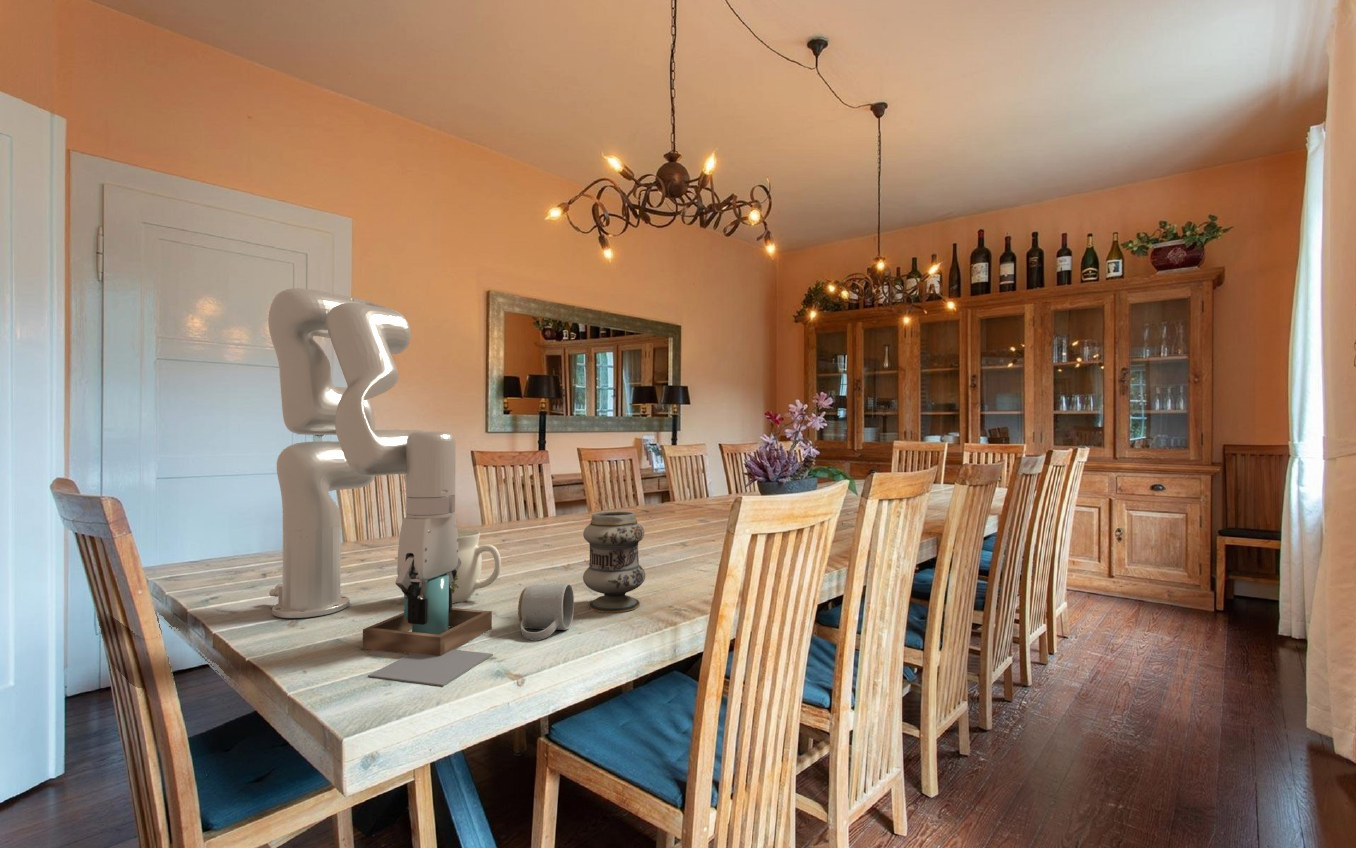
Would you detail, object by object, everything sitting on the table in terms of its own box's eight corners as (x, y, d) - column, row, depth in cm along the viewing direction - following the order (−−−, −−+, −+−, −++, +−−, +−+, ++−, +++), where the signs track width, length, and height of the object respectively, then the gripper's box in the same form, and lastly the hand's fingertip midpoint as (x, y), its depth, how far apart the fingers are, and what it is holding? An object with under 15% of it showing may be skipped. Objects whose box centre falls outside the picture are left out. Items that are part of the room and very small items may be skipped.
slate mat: (368, 676, 87) (368, 675, 87) (424, 647, 99) (424, 646, 99) (443, 686, 84) (443, 684, 84) (492, 655, 96) (492, 653, 96)
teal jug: (455, 634, 105) (455, 574, 105) (434, 645, 100) (434, 582, 100) (417, 630, 107) (417, 571, 107) (394, 641, 102) (394, 579, 102)
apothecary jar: (611, 594, 131) (611, 507, 131) (657, 603, 124) (658, 511, 124) (569, 607, 121) (569, 513, 121) (617, 618, 114) (617, 519, 114)
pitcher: (488, 608, 120) (488, 536, 120) (400, 604, 123) (401, 533, 123) (511, 593, 131) (511, 527, 131) (430, 590, 134) (430, 525, 134)
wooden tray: (362, 648, 98) (362, 629, 98) (421, 622, 112) (421, 605, 112) (440, 657, 95) (440, 637, 95) (491, 629, 108) (491, 611, 108)
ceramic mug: (530, 620, 113) (529, 577, 113) (575, 621, 112) (574, 578, 112) (509, 641, 102) (509, 594, 102) (558, 643, 102) (558, 595, 102)
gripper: (443, 500, 113) (443, 602, 112) (373, 512, 96) (372, 632, 96) (480, 501, 111) (480, 605, 110) (415, 514, 94) (414, 636, 94)
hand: (430, 616), depth 103 cm, fingers closed on teal jug, 5 cm apart
